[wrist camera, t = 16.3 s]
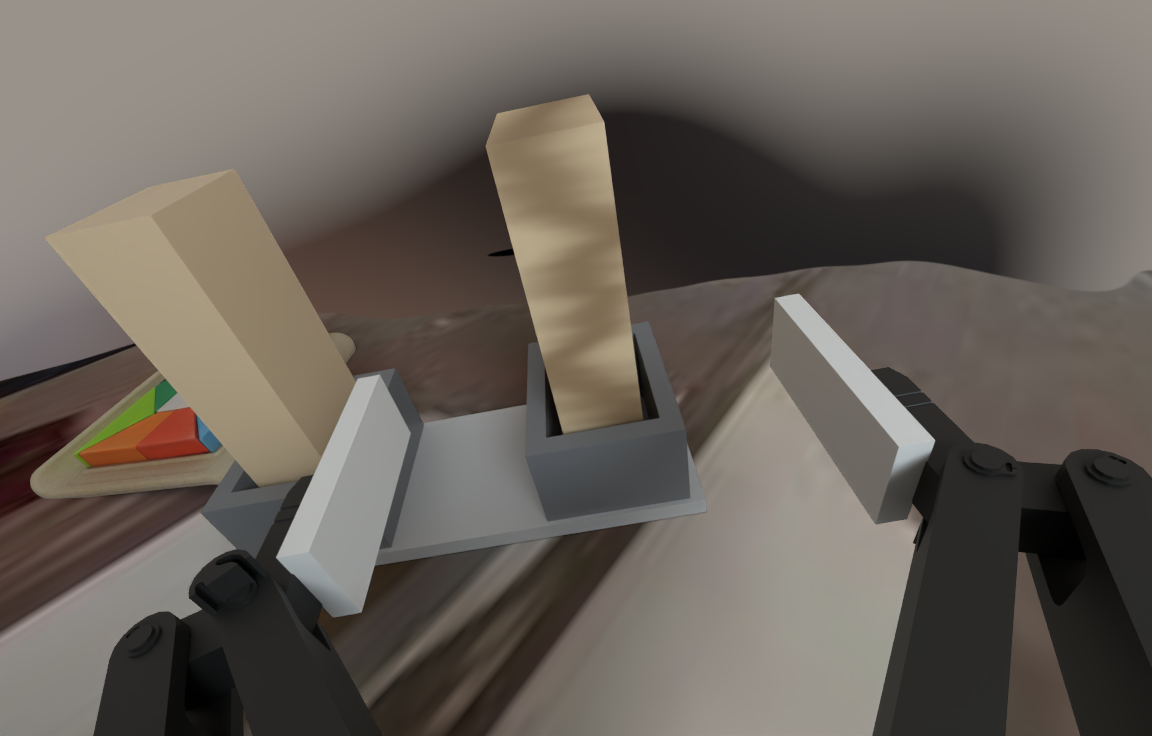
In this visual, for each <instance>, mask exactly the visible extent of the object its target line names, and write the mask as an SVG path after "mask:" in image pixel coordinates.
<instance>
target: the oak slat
mask: <svg viewBox="0 0 1152 736" xmlns="http://www.w3.org/2000/svg"><path fill="white" fill-rule="evenodd" d="M486 149H487V153H488V157H489V160H490V164H491V168H492V171H493V175H494V179H495V183H496V186H497V190H498V194H499V198H500V201H501V205H502V209H503V212H504V216H505V220H506V223H507V227H508V231H509V235H510V238H511V242H512V245H513V249H514V253H515V257H516V261H517V264H518V268H519V272H520V275H521V279H522V282H523V287H524V290H525V294H526V298H527V301H528V305H529V309H530V313H531V316H532V320H533V324H534V327H535V331H536V335H537V338H538V342H539V346H540V350H541V353H542V357H543V361H544V364H545V368H546V372H547V376H548V379H549V383H550V387H551V390H552V394H553V398H554V402H555V405H556V409H557V413H558V416H559V420H560V424H561V427H562V431H563V435H565V434H571V433H577V432H583V431H588V430H594V429H600V428H606V427H611V426H617V425H623V424H629V423H634V422H640V421H643V414H642V407H641V399H640V391H639V384H638V376H637V369H636V361H635V353H634V346H633V338H632V331H631V323H630V315H629V308H628V300H627V293H626V285H625V278H624V270H623V262H622V255H621V247H620V240H619V232H618V225H617V217H616V209H615V201H614V194H613V187H612V178H611V171H610V163H609V156H608V148H607V140H606V133H605V125H604V121H603V119H602V117H601V115H600V114H599V112H598V110H597V108H596V106H595V104H594V103H593V101H592V99H591V98H590V96H589V94H588V95H583V96H578V97H573V98H569V99H564V100H559V101H555V102H550V103H545V104H540V105H536V106H531V107H527V108H521V109H517V110H512V111H507V112H503V113H498V114H497V116H496V119H495V122H494V124H493V127H492V130H491V133H490V136H489V138H488V141H487V144H486Z"/></svg>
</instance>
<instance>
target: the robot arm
mask: <svg viewBox="0 0 1152 736" xmlns="http://www.w3.org/2000/svg"><path fill="white" fill-rule="evenodd" d="M770 367H771V368H772V370H773V371H774V373H775V374H776V376H777V377H778V379H779V380H780V382H781V383H782V385H783V386H784V388H785V389H786V391H787V392H788V394H789V395H790V397H791V398H792V400H793V401H794V403H795V404H796V406H797V407H798V409H799V410H800V412H801V413H802V415H803V416H804V418H805V419H806V421H807V422H808V424H809V425H810V427H811V428H812V430H813V431H814V433H815V434H816V436H817V437H818V439H819V440H820V442H821V443H822V445H823V446H824V448H825V449H826V451H827V452H828V454H829V455H830V457H831V458H832V460H833V461H834V463H835V464H836V466H837V467H838V469H839V470H840V472H841V473H842V475H843V476H844V478H845V479H846V481H847V482H848V484H849V485H850V487H851V488H852V490H853V491H854V493H855V494H856V496H857V497H858V499H859V500H860V502H861V503H862V505H863V506H864V508H865V509H866V511H867V512H868V514H869V515H870V517H871V518H872V520H873V521H874V523H875V524H881V523H887V522H892V521H898V520H904V519H907V518H908V515H909V512H910V509H911V507H912V504H913V505H914V506H915V507H916V508H917V510H918V511H919V512H920V514H921V515H922V516H923V519H922V521H921V524H920V526H919V529H918V531H917V534H916V537H915V539H914V542H913V543H914V544H916V545H915V550H914V554H913V559H912V563H911V567H910V572H909V576H908V581H907V585H906V590H905V594H904V598H903V603H902V607H901V612H900V616H899V620H898V625H897V629H896V634H895V638H894V643H893V647H892V651H891V656H890V660H889V665H888V669H887V673H886V678H885V682H884V687H883V691H882V696H881V700H880V704H879V709H878V713H877V718H876V722H875V727H874V731H873V735H872V736H1005V732H1006V717H1007V703H1008V689H1009V675H1010V661H1011V646H1012V632H1013V618H1014V604H1015V590H1016V576H1017V561H1018V552H1025V553H1026V557H1027V560H1028V563H1029V567H1030V570H1031V573H1032V577H1033V580H1034V583H1035V587H1036V590H1037V593H1038V597H1039V600H1040V603H1041V607H1042V610H1043V613H1044V616H1045V620H1046V623H1047V626H1048V630H1049V633H1050V636H1051V640H1052V643H1053V646H1054V650H1055V653H1056V656H1057V660H1058V663H1059V666H1060V670H1061V673H1062V676H1063V679H1064V683H1065V686H1066V689H1067V693H1068V696H1069V699H1070V703H1071V706H1072V709H1073V713H1074V716H1075V719H1076V723H1077V726H1078V729H1079V733H1080V736H1152V478H1151V476H1150V475H1149V474H1148V473H1147V472H1146V471H1145V470H1144V469H1143V468H1142V467H1140V466H1139V465H1137V464H1135V463H1134V462H1132V461H1131V460H1129V459H1127V458H1124V457H1122V456H1119V455H1117V454H1114V453H1110V452H1106V451H1101V450H1097V449H1081V450H1078V451H1074V452H1071V453H1070V454H1069V455H1068V456H1067V458H1066V459H1065V460H1064V462H1063V464H1062V465H1057V464H1043V463H1028V462H1019V461H1016V460H1015V459H1014V458H1013V457H1012V456H1010V455H1009V454H1007V453H1006V452H1004V451H1003V450H1001V449H998V448H995V447H993V446H990V445H987V444H981V443H974V442H973V441H972V440H971V439H970V438H969V437H968V436H967V435H966V434H965V433H964V432H963V431H962V430H961V429H960V428H959V427H958V426H957V425H956V424H955V423H954V422H953V421H952V420H951V419H949V418H948V417H947V416H946V415H945V414H944V413H943V412H942V411H941V410H940V409H939V408H938V407H937V406H936V405H935V404H934V403H933V404H932V402H931V400H930V399H929V398H928V397H927V396H926V395H925V394H924V393H921V390H920V389H919V388H918V387H917V386H916V385H915V384H914V383H913V382H912V381H911V380H910V379H909V378H908V377H906V376H904V375H902V374H901V373H899V372H897V371H895V370H893V369H891V368H889V367H887V368H881V369H876V370H871V371H870V370H869V368H868V367H867V366H866V365H865V364H864V363H863V362H862V361H861V360H860V359H859V358H858V357H857V356H856V354H855V353H854V352H853V351H852V350H851V349H850V348H849V347H848V346H847V345H846V344H845V343H844V342H843V341H842V339H841V338H840V337H839V336H838V335H837V334H836V333H835V332H834V331H833V330H832V329H831V328H830V327H829V325H828V324H827V323H826V322H825V321H824V320H823V319H822V318H821V317H820V316H819V315H818V314H817V313H816V312H815V310H814V309H813V308H812V307H811V306H810V305H809V304H808V303H807V302H806V301H805V300H804V299H803V298H802V296H801V295H800V294H794V295H789V296H784V297H779V298H775V305H774V319H773V333H772V347H771V361H770ZM410 434H411V433H410V431H409V429H408V427H407V425H406V423H405V421H404V420H403V418H402V416H401V414H400V412H399V410H398V408H397V406H396V404H395V402H394V401H393V399H392V397H391V395H390V393H389V391H388V389H387V387H386V385H385V383H384V382H383V380H382V378H381V376H380V375H375V376H369V377H364V378H359V379H357V381H356V383H355V386H354V388H353V390H352V392H351V394H350V397H349V399H348V401H347V403H346V405H345V408H344V410H343V412H342V414H341V416H340V419H339V421H338V423H337V425H336V427H335V430H334V432H333V434H332V436H331V438H330V440H329V443H328V445H327V447H326V449H325V451H324V454H323V456H322V458H321V460H320V462H319V465H318V467H317V469H316V471H315V473H314V475H309V476H304V477H301V478H300V479H299V481H298V482H297V483H296V484H295V485H294V486H293V487H292V488H291V489H290V491H289V492H288V493H287V495H286V497H285V499H284V501H283V503H282V505H281V507H280V509H281V511H279V512H278V514H277V516H276V518H275V520H274V524H272V526H271V528H270V530H269V532H268V534H267V536H266V538H265V540H264V542H263V544H262V546H261V548H260V550H259V552H258V554H257V556H256V558H255V559H254V558H253V557H252V556H251V555H250V554H249V553H248V552H247V551H246V550H238V549H236V550H233V551H229V552H226V553H224V554H222V555H220V556H218V557H216V558H215V559H213V560H212V561H211V562H209V563H208V564H207V565H206V566H205V567H203V568H202V570H201V571H200V572H199V573H198V574H197V576H196V577H195V578H194V580H193V582H192V584H191V586H190V588H189V598H190V599H191V600H192V601H193V602H195V603H196V604H197V605H198V606H200V607H201V608H202V609H203V610H201V611H198V612H196V613H194V614H192V615H190V616H187V617H185V618H183V619H181V620H180V619H179V618H178V617H176V616H175V615H173V614H172V613H170V612H158V613H155V614H153V615H150V616H148V617H146V618H144V619H143V620H141V621H140V622H138V623H137V624H135V625H134V626H133V627H132V628H131V629H130V630H129V631H128V632H127V633H126V634H124V635H123V637H122V638H121V639H120V641H119V642H118V643H117V645H116V646H115V647H114V650H113V652H112V655H111V657H110V660H109V665H108V669H107V674H106V679H105V684H104V688H103V693H102V698H101V702H100V707H99V712H98V717H97V721H96V726H95V731H94V735H93V736H243V708H244V711H245V714H246V717H247V720H248V723H249V726H250V728H251V731H252V734H253V736H383V735H382V733H381V731H380V730H379V728H378V726H377V724H376V722H375V720H374V719H373V717H372V715H371V713H370V711H369V710H368V708H367V706H366V704H365V702H364V701H363V699H362V697H361V695H360V693H359V692H358V690H357V688H356V686H355V684H354V682H353V681H352V679H351V677H350V675H349V673H348V672H347V670H346V668H345V666H344V664H343V663H342V661H341V659H340V657H339V655H338V653H337V652H336V650H335V648H334V646H333V644H332V643H331V641H330V639H329V637H328V635H327V634H326V632H325V630H324V628H323V627H322V626H321V625H320V624H319V623H318V622H317V620H318V617H319V614H320V611H321V609H322V606H323V608H324V609H325V610H326V611H327V612H328V613H329V614H330V615H331V616H332V617H339V616H345V615H351V614H357V613H362V610H363V606H364V602H365V599H366V595H367V591H368V588H369V584H370V580H371V577H372V573H373V569H374V566H375V562H376V558H377V555H378V551H379V547H380V544H381V540H382V537H383V533H384V529H385V526H386V522H387V518H388V515H389V511H390V507H391V504H392V500H393V496H394V493H395V489H396V485H397V482H398V478H399V474H400V471H401V467H402V464H403V460H404V456H405V453H406V449H407V445H408V442H409V438H410Z"/></svg>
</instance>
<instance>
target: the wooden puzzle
mask: <svg viewBox="0 0 1152 736" xmlns="http://www.w3.org/2000/svg"><path fill="white" fill-rule="evenodd" d="M328 334H329V335H330V337H331V339H332V341H333V342H334V344H335V346H336V348H337V350H338V351H339V353H340V355H341V357H342V358H343V360H344V362H345V364H346V363H347V362H348V360H349V359H350V358H351V356H352V355H353V354H354V352H355V351H356V347H355V344H354V342H353V340H352V339H351V338H350V337H349V336H347V335H345V334H342V333H328ZM234 461H235V459H234V458H233V456H232V455H231V454H230V453H229V452H228V451H227V449H226V448H225V447H224V446H223V445H222V444H221V443H220V441H219V440H218V439H217V438H216V437H215V436H214V434H213V433H212V432H211V431H210V430H209V429H208V427H207V426H206V425H205V424H204V423H203V422H202V420H201V419H200V418H199V417H198V416H197V415H196V413H195V412H194V411H193V410H192V409H191V408H190V406H189V405H188V404H187V403H186V402H185V401H184V400H183V398H182V397H181V396H180V395H179V394H178V393H177V391H176V390H175V389H174V388H173V387H172V386H171V384H170V383H169V382H168V381H167V380H166V379H165V377H164V376H163V375H162V374H161V373H160V372H159V370H158V371H157V372H156V373H154V374H153V375H152V376H151V377H150V378H148V379H147V380H146V381H145V382H143V383H142V384H141V385H140V386H138V387H137V388H136V389H135V390H133V391H132V392H131V393H130V394H129V395H127V396H126V397H125V398H124V399H122V400H121V401H120V402H119V403H117V404H116V405H115V406H114V407H112V408H111V409H110V410H109V411H107V412H106V413H105V414H104V415H103V416H101V417H100V418H99V419H98V420H96V421H95V422H94V423H93V424H92V425H90V426H89V427H88V428H87V429H86V430H84V431H83V432H82V433H81V434H80V435H78V436H77V437H76V438H75V439H73V440H72V441H71V442H70V443H68V444H67V445H66V446H65V447H64V448H62V449H61V450H60V451H59V452H57V453H56V454H55V455H54V456H53V457H51V458H50V459H49V460H48V461H46V462H45V463H44V464H43V465H42V466H40V467H39V468H38V469H37V470H35V472H34V473H33V474H32V476H31V480H30V484H31V488H32V489H33V491H34V492H35V493H36V494H37V495H39V496H40V497H42V498H46V499H54V498H83V497H97V496H107V495H116V494H125V493H135V492H144V491H153V490H163V489H172V488H182V487H191V486H201V485H211V484H212V485H219V484H220V482H221V481H222V479H223V478H224V476H225V475H226V473H227V472H228V470H229V469H230V467H231V465H232V464H233V462H234Z"/></svg>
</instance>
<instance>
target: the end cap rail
mask: <svg viewBox="0 0 1152 736" xmlns="http://www.w3.org/2000/svg"><path fill="white" fill-rule="evenodd" d="M45 239H46V240H47V241H48V243H49V244H50V245H51V246H52V247H53V248H54V249H55V251H56V252H57V253H58V254H59V255H60V257H61V258H62V259H63V260H64V261H65V262H66V264H67V265H68V266H69V267H70V268H71V269H72V270H73V272H74V273H75V274H76V275H77V276H78V277H79V279H80V280H81V281H82V282H83V283H84V284H85V286H86V287H87V288H88V289H89V290H90V291H91V292H92V294H93V295H94V296H95V297H96V298H97V300H98V301H99V302H100V303H101V304H102V305H103V306H104V308H105V309H106V310H107V311H108V312H109V314H110V315H111V316H112V317H113V318H114V319H115V320H116V322H117V323H118V324H119V325H120V326H121V327H122V329H123V330H124V331H125V332H126V333H127V334H128V336H129V337H130V338H131V339H132V340H133V341H134V343H135V344H136V345H137V346H138V347H139V348H140V350H141V351H142V352H143V353H144V354H145V355H146V357H147V358H148V359H149V360H150V361H151V362H152V363H153V365H154V366H155V367H156V368H157V369H158V370H159V372H160V373H161V374H162V375H163V376H164V377H165V379H166V380H167V381H168V382H169V383H170V384H171V386H172V387H173V388H174V389H175V390H176V391H177V393H178V394H179V395H180V396H181V397H182V398H183V400H184V401H185V402H186V403H187V404H188V405H189V406H190V408H191V409H192V410H193V411H194V412H195V413H196V415H197V416H198V417H199V418H200V419H201V420H202V422H203V423H204V424H205V425H206V426H207V427H208V429H209V430H210V431H211V432H212V433H213V434H214V436H215V437H216V438H217V439H218V440H219V441H220V443H221V444H222V445H223V446H224V447H225V448H226V449H227V451H228V452H229V453H230V454H231V455H232V456H233V458H234V459H235V461H234V462H233V464H232V465H231V467H230V469H229V470H228V472H227V473H226V475H225V476H224V478H223V479H222V481H221V482H220V484H219V485H218V487H217V488H216V490H215V491H214V493H213V494H212V496H211V497H210V499H209V500H208V502H207V503H206V505H205V507H204V508H203V510H202V511H201V514H202V515H203V516H204V517H205V518H206V519H207V520H208V521H209V522H210V523H211V524H212V525H213V526H214V527H215V528H216V529H217V530H218V531H219V532H220V533H222V534H223V535H224V536H225V537H226V538H227V539H228V540H229V541H230V542H231V543H232V544H233V545H234V546H235V547H236V548H237V549H238V550H246V551H247V552H248V553H249V554H250V555H251V556H252V557H253V558H254V559H255V558H256V556H257V554H258V552H259V550H260V548H261V546H262V544H263V542H264V540H265V538H266V536H267V534H268V532H269V530H270V528H271V526H272V524H274V520H275V518H276V516H277V514H278V512H279V511H281V509H280V507H281V505H282V503H283V501H284V499H285V497H286V495H287V493H288V492H289V491H290V489H291V488H292V487H293V486H294V485H295V484H296V483H297V482H298V481H299V479H300V478H301V477H304V476H309V475H314V473H315V471H316V469H317V467H318V465H319V462H320V460H321V458H322V456H323V454H324V451H325V449H326V447H327V445H328V443H329V440H330V438H331V436H332V434H333V432H334V430H335V427H336V425H337V423H338V421H339V419H340V416H341V414H342V412H343V410H344V408H345V405H346V403H347V401H348V399H349V397H350V394H351V392H352V390H353V388H354V386H355V383H356V381H357V379H359V378H364V377H369V376H375V375H380V376H381V378H382V380H383V382H384V383H385V385H386V387H387V389H388V391H389V393H390V395H391V397H392V399H393V401H394V402H395V404H396V406H397V408H398V410H399V412H400V414H401V416H402V418H403V420H404V421H405V423H406V425H407V427H408V429H409V431H410V433H411V434H410V438H409V442H408V445H407V449H406V453H405V456H404V460H403V464H402V467H401V471H400V474H399V478H398V482H397V485H396V489H395V493H394V496H393V500H392V504H391V507H390V511H389V515H388V518H387V522H386V526H385V529H384V533H383V537H382V540H381V544H380V547H379V551H378V555H377V558H376V562H375V566H377V565H383V564H389V563H395V562H401V561H408V560H414V559H420V558H426V557H432V556H438V555H444V554H451V553H457V552H463V551H469V550H475V549H481V548H487V547H494V546H500V545H506V544H512V543H518V542H524V541H530V540H537V539H543V538H549V537H555V536H561V535H567V534H573V533H580V532H586V531H592V530H598V529H604V528H610V527H616V526H623V525H629V524H635V523H641V522H647V521H653V520H659V519H665V518H672V517H678V516H684V515H690V514H696V513H702V512H707V508H706V498H705V495H704V492H703V489H702V486H701V483H700V480H699V477H698V474H697V471H696V468H695V465H694V462H693V459H692V456H691V453H690V450H689V447H688V445H687V435H686V427H685V424H684V422H683V419H682V416H681V413H680V410H679V407H678V404H677V401H676V399H675V396H674V393H673V390H672V387H671V384H670V381H669V378H668V376H667V373H666V370H665V367H664V364H663V361H662V358H661V355H660V353H659V350H658V347H657V344H656V341H655V338H654V335H653V332H652V330H651V327H650V324H649V321H647V322H642V323H636V324H631V331H632V338H633V346H634V353H635V361H636V369H637V376H638V384H639V391H640V399H641V407H642V414H643V421H640V422H634V423H629V424H623V425H617V426H611V427H606V428H600V429H594V430H588V431H583V432H577V433H571V434H565V435H563V431H562V427H561V424H560V420H559V416H558V413H557V409H556V405H555V402H554V398H553V394H552V390H551V387H550V383H549V379H548V376H547V372H546V368H545V364H544V361H543V357H542V353H541V350H540V346H539V342H533V343H528V370H527V405H522V406H516V407H511V408H505V409H499V410H494V411H488V412H482V413H477V414H471V415H466V416H460V417H454V418H449V419H443V420H438V421H432V422H426V423H423V422H422V420H421V418H420V416H419V414H418V412H417V410H416V408H415V406H414V404H413V402H412V400H411V398H410V396H409V394H408V392H407V390H406V388H405V386H404V384H403V382H402V380H401V378H400V376H399V374H398V372H397V370H396V368H393V369H388V370H382V371H377V372H371V373H366V374H360V375H355V376H352V374H351V372H350V371H349V369H348V367H347V365H346V364H345V362H344V360H343V358H342V357H341V355H340V353H339V351H338V350H337V348H336V346H335V344H334V342H333V341H332V339H331V337H330V335H329V334H328V332H327V330H326V328H325V327H324V325H323V323H322V321H321V320H320V318H319V316H318V314H317V313H316V311H315V309H314V307H313V306H312V304H311V302H310V300H309V299H308V297H307V295H306V293H305V292H304V290H303V288H302V286H301V285H300V283H299V281H298V279H297V278H296V276H295V274H294V272H293V270H292V269H291V267H290V265H289V263H288V262H287V260H286V258H285V257H284V255H283V253H282V251H281V249H280V248H279V246H278V244H277V242H276V241H275V239H274V237H273V235H272V234H271V232H270V230H269V228H268V227H267V225H266V223H265V221H264V220H263V218H262V216H261V214H260V213H259V211H258V209H257V208H256V206H255V204H254V202H253V200H252V198H251V197H250V195H249V193H248V191H247V190H246V188H245V186H244V184H243V183H242V181H241V179H240V177H239V176H238V174H237V172H236V170H235V169H231V170H226V171H222V172H217V173H212V174H208V175H203V176H199V177H194V178H189V179H184V180H180V181H175V182H170V183H165V184H160V185H156V186H151V187H149V188H147V189H144V190H142V191H140V192H138V193H136V194H134V195H132V196H130V197H128V198H126V199H124V200H121V201H119V202H117V203H115V204H113V205H111V206H109V207H107V208H105V209H103V210H101V211H99V212H97V213H94V214H92V215H90V216H88V217H86V218H84V219H82V220H80V221H78V222H76V223H74V224H71V225H69V226H67V227H65V228H64V229H61V230H59V231H57V232H55V233H53V234H51V235H48V236H46V237H45Z"/></svg>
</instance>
